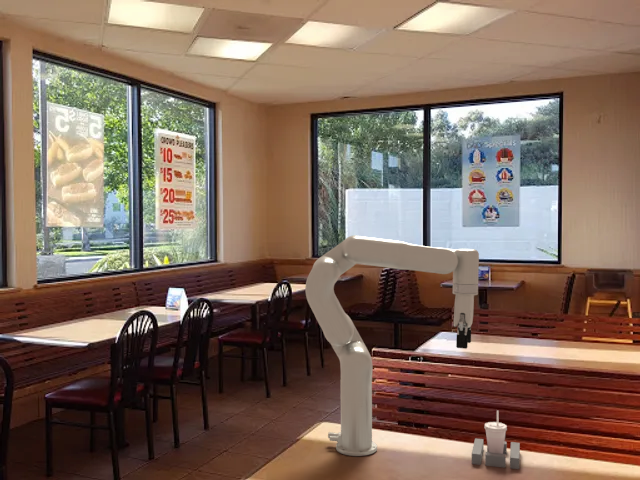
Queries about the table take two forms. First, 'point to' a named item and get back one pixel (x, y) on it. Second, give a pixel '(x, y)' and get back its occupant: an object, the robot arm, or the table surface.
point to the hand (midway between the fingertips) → (463, 345)
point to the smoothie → (495, 435)
